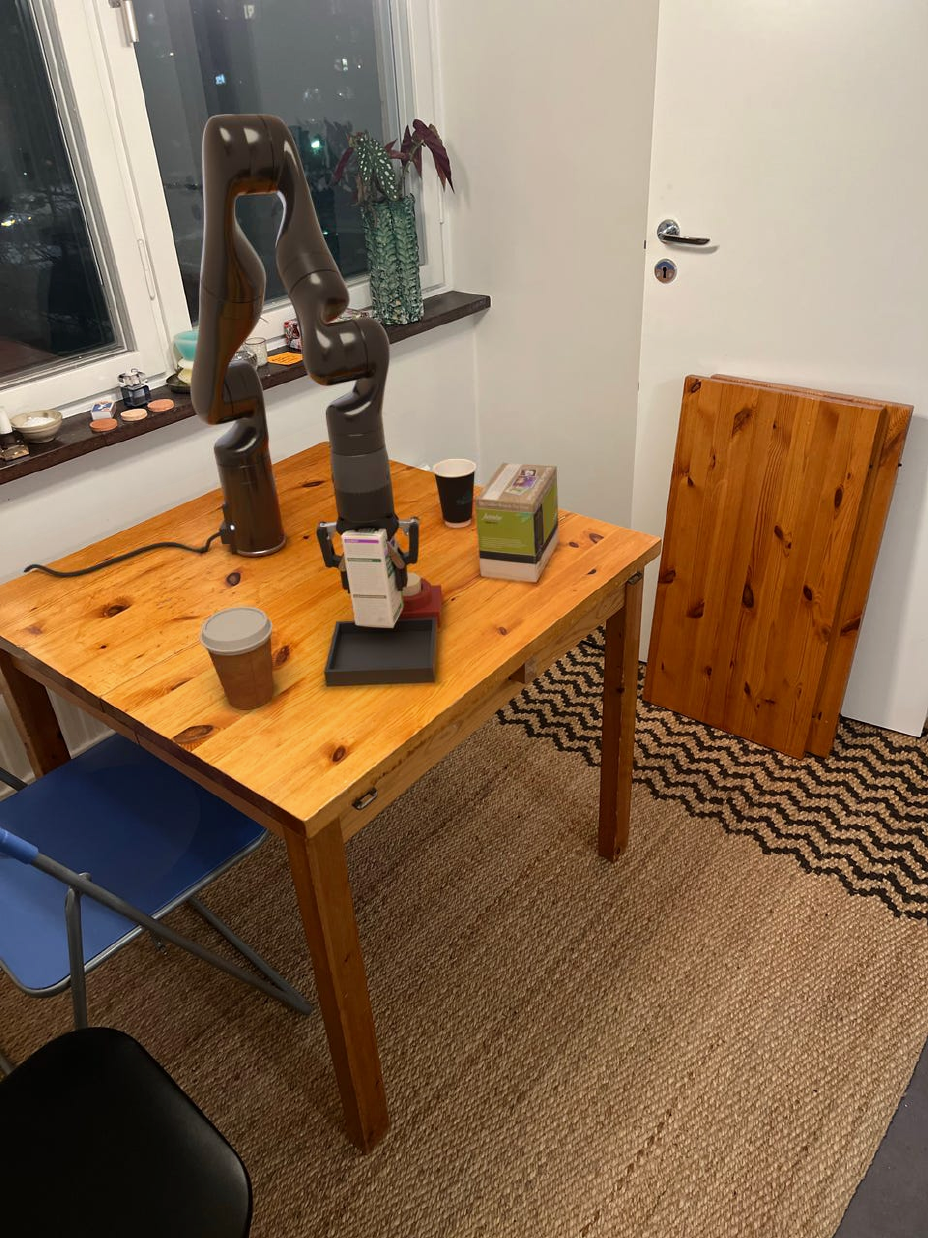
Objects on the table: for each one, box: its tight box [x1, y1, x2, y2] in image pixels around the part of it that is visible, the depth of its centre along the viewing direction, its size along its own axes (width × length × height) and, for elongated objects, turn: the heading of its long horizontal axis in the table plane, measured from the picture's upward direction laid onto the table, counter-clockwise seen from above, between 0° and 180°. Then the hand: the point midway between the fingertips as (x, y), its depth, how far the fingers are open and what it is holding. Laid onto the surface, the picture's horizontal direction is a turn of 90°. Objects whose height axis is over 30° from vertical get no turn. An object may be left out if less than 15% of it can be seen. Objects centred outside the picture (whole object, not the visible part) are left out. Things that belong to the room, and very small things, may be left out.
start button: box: [402, 572, 421, 597], centre depth 140 cm, size 4×4×2 cm
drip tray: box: [323, 617, 439, 688], centre depth 133 cm, size 15×13×3 cm
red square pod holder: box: [398, 577, 443, 629], centre depth 142 cm, size 10×8×5 cm
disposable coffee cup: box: [199, 606, 275, 710], centre depth 124 cm, size 10×10×12 cm
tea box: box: [474, 462, 560, 583], centre depth 152 cm, size 15×10×15 cm, turn 160°
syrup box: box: [340, 528, 404, 628], centre depth 126 cm, size 6×6×14 cm
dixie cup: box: [432, 458, 477, 529], centre depth 167 cm, size 8×8×11 cm
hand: (375, 589), depth 127 cm, fingers closed on syrup box, 6 cm apart
